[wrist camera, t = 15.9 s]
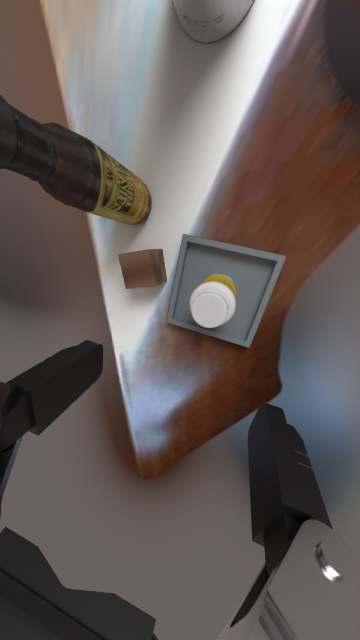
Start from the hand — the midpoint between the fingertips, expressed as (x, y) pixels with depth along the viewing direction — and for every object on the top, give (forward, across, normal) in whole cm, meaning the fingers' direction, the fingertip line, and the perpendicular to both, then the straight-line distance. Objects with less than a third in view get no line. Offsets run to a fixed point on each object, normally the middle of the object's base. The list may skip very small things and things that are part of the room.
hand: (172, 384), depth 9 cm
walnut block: (+23, +12, -1) cm, 26 cm away
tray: (+23, 0, 0) cm, 23 cm away
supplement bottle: (+23, 0, 0) cm, 23 cm away
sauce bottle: (+24, +16, -10) cm, 30 cm away
